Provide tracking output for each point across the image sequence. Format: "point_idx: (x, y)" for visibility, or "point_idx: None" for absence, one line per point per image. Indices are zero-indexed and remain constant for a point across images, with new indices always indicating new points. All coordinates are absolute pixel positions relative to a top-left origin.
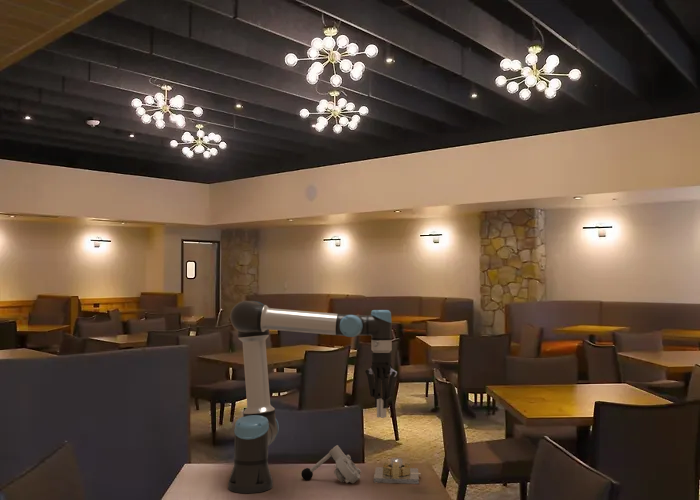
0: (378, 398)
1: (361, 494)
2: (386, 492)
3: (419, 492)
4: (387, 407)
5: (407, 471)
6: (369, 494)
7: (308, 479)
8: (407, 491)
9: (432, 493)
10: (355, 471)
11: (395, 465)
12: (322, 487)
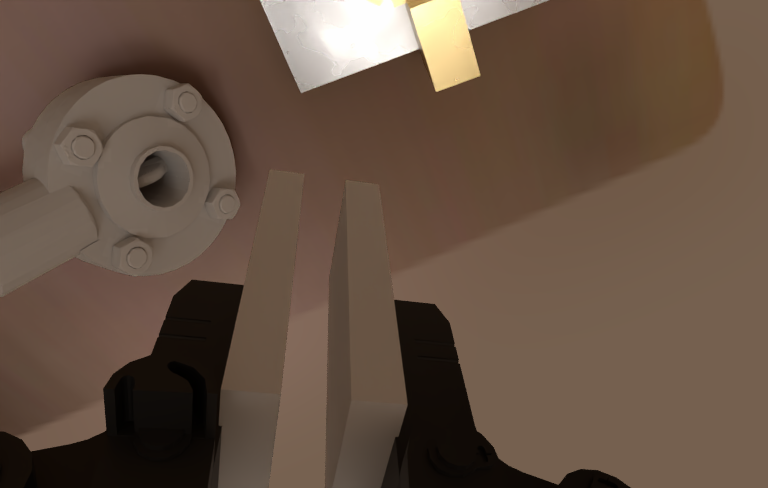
0: (217, 481)
1: None
2: (443, 221)
3: (604, 150)
4: (437, 324)
5: None
6: None
7: None
8: (540, 161)
9: (673, 137)
10: (223, 211)
11: (454, 83)
12: (116, 283)
